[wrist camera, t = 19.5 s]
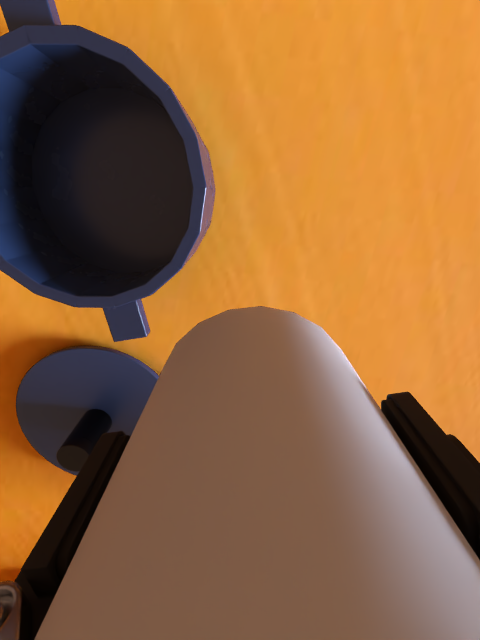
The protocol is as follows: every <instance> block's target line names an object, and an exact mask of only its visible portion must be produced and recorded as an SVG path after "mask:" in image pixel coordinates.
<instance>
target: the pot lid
mask: <svg viewBox="0 0 480 640" xmlns="http://www.w3.org/2000/svg"><path fill="white" fill-rule="evenodd" d="M158 378H159V376H158V375H157V374H156V373H155V372H154V371H153V370H152V369H151V368H149V367H148V366H147V365H145V364H144V363H142V362H141V361H139V360H138V359H136V358H134V357H132V356H130V355H128V354H125V353H123V352H120V351H117V350H114V349H110V348H106V347H98V346H76V347H69V348H65V349H61V350H59V351H56V352H53V353H51V354H49V355H47V356H46V357H44V358H43V359H41V360H40V361H39V362H37V363H36V364H35V365H34V366H33V367H32V368H31V369H30V370H29V371H28V372H27V373H26V375H25V376H24V378H23V379H22V381H21V384H20V386H19V388H18V393H17V397H16V411H17V417H18V421H19V424H20V426H21V429H22V431H23V433H24V435H25V436H26V438H27V440H28V441H29V442H30V444H31V445H32V446H33V447H34V448H35V450H36V451H37V452H38V453H39V454H40V455H42V456H43V457H44V458H45V459H46V460H48V461H49V462H51V463H52V464H54V465H55V466H57V467H59V468H60V469H62V470H64V471H66V472H69V473H71V474H73V475H78V473H79V472H80V470H81V468H82V467H83V465H84V463H85V462H86V460H87V458H88V457H89V455H90V453H91V452H92V450H93V448H94V447H95V445H96V443H97V442H98V440H99V438H100V437H101V435H102V434H104V433H109V432H117V431H123V432H124V433H125V435H129V436H130V437H131V435H132V433H133V431H134V429H135V426H136V424H137V422H138V420H139V418H140V416H141V414H142V412H143V410H144V408H145V405H146V403H147V401H148V399H149V397H150V395H151V393H152V391H153V389H154V386H155V384H156V382H157V380H158Z"/></svg>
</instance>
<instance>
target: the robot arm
mask: <svg viewBox="0 0 480 640" xmlns="http://www.w3.org/2000/svg"><path fill="white" fill-rule="evenodd" d="M381 411H382V412H383V414H384V415H385V417H386V418H387V420H388V421H389V423H390V425H391V426H392V428H393V429H394V431H395V432H396V434H397V435H398V437H399V438H400V440H401V441H402V443H403V444H404V446H405V447H406V449H407V450H408V452H409V453H410V455H411V456H412V458H413V460H414V461H415V463H416V464H417V466H418V467H419V469H420V470H421V472H422V473H423V475H424V476H425V478H426V479H427V481H428V482H429V484H430V485H431V487H432V488H433V490H434V491H435V493H436V495H437V496H438V498H439V499H440V501H441V502H442V504H443V505H444V507H445V508H446V510H447V511H448V513H449V514H450V516H451V517H452V519H453V520H454V522H455V523H456V525H457V527H458V528H459V530H460V531H461V533H462V534H463V536H464V537H465V539H466V540H467V542H468V543H469V545H470V546H471V548H472V549H473V551H474V552H475V554H476V555H477V557H478V558H479V560H480V463H479V462H478V461H477V460H476V459H475V457H474V456H473V455H472V454H471V453H470V452H469V451H468V450H467V449H466V447H465V446H464V445H463V444H462V443H461V442H460V441H459V440H458V439H457V438H456V437H455V436H453V435H451V434H449V435H446V434H445V433H444V432H443V430H442V429H441V428H440V427H439V426H438V425H437V424H436V422H435V421H434V420H433V419H432V418H431V417H430V415H429V414H428V413H427V412H426V411H425V410H424V409H423V407H422V406H421V405H420V404H419V403H418V402H417V400H416V399H415V398H414V397H413V396H412V395H411V394H410V393H409V392H402V393H395V394H389V395H387V400H382V402H381ZM129 439H130V436H129V435H125V433H124V432H123V431H117V432H109V433H104V434H102V435H101V437H100V438H99V440H98V442H97V443H96V445H95V447H94V448H93V450H92V452H91V453H90V455H89V457H88V458H87V460H86V462H85V463H84V465H83V467H82V468H81V470H80V472H79V473H78V475H77V477H76V478H75V480H74V482H73V483H72V485H71V487H70V488H69V490H68V492H67V493H66V495H65V497H64V498H63V500H62V502H61V503H60V505H59V507H58V508H57V510H56V512H55V513H54V515H53V517H52V518H51V520H50V522H49V523H48V525H47V527H46V528H45V530H44V532H43V533H42V535H41V537H40V538H39V540H38V542H37V543H36V545H35V547H34V548H33V550H32V552H31V553H30V555H29V557H28V558H27V560H26V562H25V563H24V565H23V567H22V568H21V572H20V573H19V575H18V577H17V578H16V580H15V582H13V581H3V582H0V640H34V639H35V637H36V635H37V633H38V631H39V629H40V627H41V624H42V622H43V620H44V618H45V616H46V614H47V612H48V610H49V608H50V605H51V603H52V601H53V599H54V597H55V595H56V593H57V591H58V589H59V587H60V584H61V582H62V580H63V578H64V576H65V574H66V572H67V570H68V568H69V565H70V563H71V561H72V559H73V557H74V555H75V553H76V551H77V549H78V546H79V544H80V542H81V540H82V538H83V536H84V534H85V532H86V530H87V528H88V525H89V523H90V521H91V519H92V517H93V515H94V513H95V511H96V509H97V506H98V504H99V502H100V500H101V498H102V496H103V494H104V492H105V490H106V488H107V485H108V483H109V481H110V479H111V477H112V475H113V473H114V471H115V469H116V466H117V464H118V462H119V460H120V458H121V456H122V454H123V452H124V450H125V448H126V445H127V443H128V441H129Z"/></svg>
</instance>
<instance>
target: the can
mask: <svg viewBox="0 0 480 640" xmlns="http://www.w3.org/2000/svg"><path fill="white" fill-rule="evenodd" d="M34 640H480V560H479V558H478V557H477V555H476V554H475V552H474V551H473V549H472V548H471V546H470V545H469V543H468V542H467V540H466V539H465V537H464V536H463V534H462V533H461V531H460V530H459V528H458V527H457V525H456V523H455V522H454V520H453V519H452V517H451V516H450V514H449V513H448V511H447V510H446V508H445V507H444V505H443V504H442V502H441V501H440V499H439V498H438V496H437V495H436V493H435V491H434V490H433V488H432V487H431V485H430V484H429V482H428V481H427V479H426V478H425V476H424V475H423V473H422V472H421V470H420V469H419V467H418V466H417V464H416V463H415V461H414V460H413V458H412V456H411V455H410V453H409V452H408V450H407V449H406V447H405V446H404V444H403V443H402V441H401V440H400V438H399V437H398V435H397V434H396V432H395V431H394V429H393V428H392V426H391V425H390V423H389V421H388V420H387V418H386V417H385V415H384V414H383V412H382V411H381V409H380V408H379V406H378V405H377V403H376V402H375V400H374V399H373V397H372V396H371V394H370V393H369V391H368V389H367V388H366V386H365V385H364V383H363V382H362V380H361V379H360V377H359V376H358V374H357V373H356V371H355V370H354V368H353V367H352V365H351V364H350V362H349V361H348V359H347V358H346V356H345V354H344V353H343V351H342V350H341V349H340V347H339V346H338V345H337V344H336V343H335V342H334V341H333V340H332V339H331V338H330V336H329V335H328V334H327V333H326V332H325V331H324V330H323V329H322V328H321V327H320V326H318V325H316V324H314V323H312V322H311V321H309V320H307V319H305V318H303V317H301V316H300V315H298V314H296V313H294V312H290V311H284V310H279V309H274V308H268V307H263V306H258V307H249V308H240V309H232V310H227V311H225V312H222V313H220V314H218V315H216V316H213V317H211V318H209V319H206V320H204V321H202V322H200V323H198V324H197V325H196V326H195V327H194V328H193V329H192V330H190V331H189V332H188V333H187V334H186V335H185V336H184V337H183V338H182V339H181V340H179V341H178V342H177V343H176V345H175V347H174V349H173V351H172V353H171V354H170V356H169V358H168V360H167V362H166V364H165V366H164V368H163V370H162V372H161V374H160V376H159V378H158V380H157V382H156V384H155V386H154V389H153V391H152V393H151V395H150V397H149V399H148V401H147V403H146V405H145V408H144V410H143V412H142V414H141V416H140V418H139V420H138V422H137V424H136V426H135V429H134V431H133V433H132V435H131V437H130V439H129V441H128V443H127V445H126V448H125V450H124V452H123V454H122V456H121V458H120V460H119V462H118V464H117V466H116V469H115V471H114V473H113V475H112V477H111V479H110V481H109V483H108V485H107V488H106V490H105V492H104V494H103V496H102V498H101V500H100V502H99V504H98V506H97V509H96V511H95V513H94V515H93V517H92V519H91V521H90V523H89V525H88V528H87V530H86V532H85V534H84V536H83V538H82V540H81V542H80V544H79V546H78V549H77V551H76V553H75V555H74V557H73V559H72V561H71V563H70V565H69V568H68V570H67V572H66V574H65V576H64V578H63V580H62V582H61V584H60V587H59V589H58V591H57V593H56V595H55V597H54V599H53V601H52V603H51V605H50V608H49V610H48V612H47V614H46V616H45V618H44V620H43V622H42V624H41V627H40V629H39V631H38V633H37V635H36V637H35V639H34Z"/></svg>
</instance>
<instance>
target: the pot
mask: <svg viewBox="0 0 480 640" xmlns="http://www.w3.org/2000/svg"><path fill="white" fill-rule="evenodd" d="M0 5H1V8H2V11H3V14H4V17H5V20H6V23H7V26H8V29H9V32H8V33H6V34H4V35H2V36H0V270H1V271H2V272H4V273H5V274H7V275H8V276H10V277H11V278H13V279H14V280H16V281H17V282H18V283H20V284H21V285H23V286H24V287H26V288H27V289H29V290H30V291H31V292H33V293H34V294H37V295H40V296H43V297H46V298H49V299H52V300H55V301H58V302H61V303H64V304H67V305H70V306H73V307H90V308H103V311H104V314H105V317H106V320H107V322H108V325H109V328H110V331H111V334H112V337H113V340H114V342H117V341H123V340H129V339H135V338H142V337H147V335H148V334H149V332H150V329H149V325H148V322H147V318H146V315H145V311H144V308H143V305H142V301H141V299H142V298H145V297H147V296H150V295H152V294H153V293H155V292H156V291H157V290H158V289H159V288H160V287H162V286H163V285H164V284H165V283H166V282H167V281H168V280H170V279H171V278H172V277H173V276H174V275H175V274H177V273H178V272H179V271H180V270H181V269H182V268H183V266H184V265H185V264H186V263H187V261H188V260H189V259H190V258H191V257H192V255H193V254H194V253H195V252H196V250H197V248H198V246H199V245H200V243H201V241H202V239H203V237H204V235H205V233H206V231H207V229H208V228H209V226H210V223H211V217H212V212H213V205H214V196H215V184H214V178H213V171H212V167H211V162H210V157H209V153H208V150H207V148H206V146H205V145H204V143H203V141H202V139H201V137H200V135H199V133H198V132H197V130H196V128H195V126H194V124H193V122H192V121H191V119H190V117H189V116H188V114H187V112H186V111H185V109H184V108H183V106H182V105H181V103H180V101H179V100H178V98H177V97H176V95H175V94H174V92H173V91H172V89H171V88H170V86H169V85H168V84H167V83H166V82H165V81H163V80H162V79H161V78H160V77H159V76H158V75H157V74H156V73H155V72H154V71H153V70H152V69H151V68H150V67H149V66H148V65H147V64H145V63H144V62H143V61H142V60H141V59H140V58H139V57H138V56H137V55H136V54H135V53H134V52H133V51H132V50H131V49H129V48H128V47H126V46H124V45H122V44H119V43H117V42H115V41H112V40H110V39H108V38H106V37H103V36H101V35H99V34H96V33H94V32H92V31H90V30H87V29H85V28H83V27H80V26H77V25H61V22H60V19H59V15H58V12H57V9H56V5H55V2H54V0H0Z"/></svg>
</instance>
